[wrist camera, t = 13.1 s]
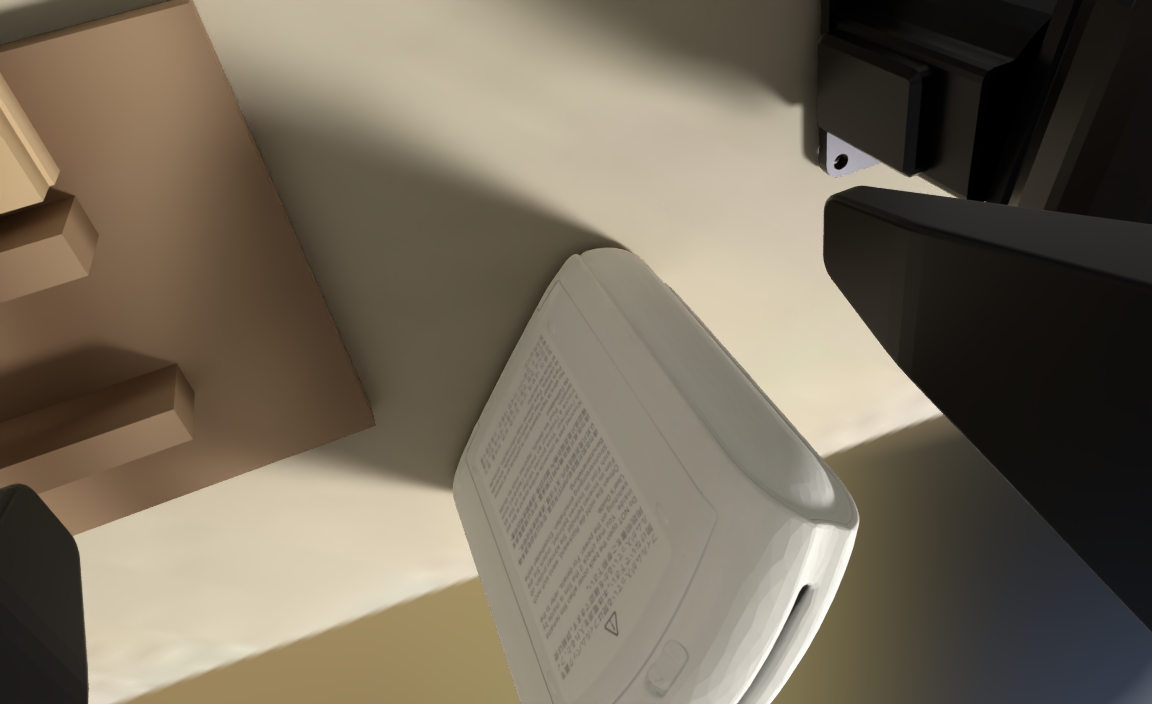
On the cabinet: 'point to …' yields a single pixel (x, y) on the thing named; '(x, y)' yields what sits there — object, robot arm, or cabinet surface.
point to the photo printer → (645, 505)
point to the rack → (149, 277)
